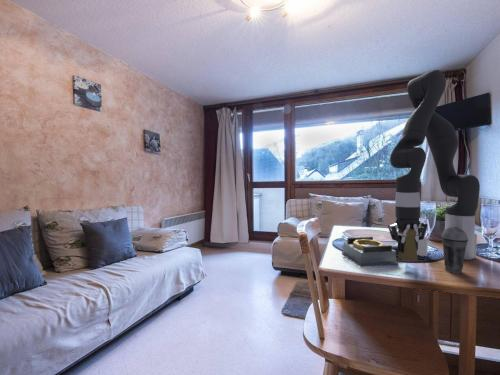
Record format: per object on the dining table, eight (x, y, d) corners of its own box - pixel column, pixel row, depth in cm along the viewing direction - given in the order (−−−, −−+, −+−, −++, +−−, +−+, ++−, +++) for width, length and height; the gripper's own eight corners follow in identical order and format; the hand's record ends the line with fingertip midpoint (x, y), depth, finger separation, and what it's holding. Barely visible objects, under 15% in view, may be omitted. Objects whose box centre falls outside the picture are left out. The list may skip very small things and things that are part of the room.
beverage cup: (472, 273, 84) (474, 215, 83) (457, 276, 82) (459, 217, 81) (449, 265, 91) (451, 212, 90) (435, 268, 89) (436, 213, 88)
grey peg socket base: (374, 251, 109) (374, 235, 109) (397, 264, 94) (398, 246, 94) (341, 253, 108) (341, 237, 107) (360, 266, 93) (360, 248, 92)
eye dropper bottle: (417, 252, 107) (418, 224, 106) (429, 256, 101) (430, 227, 101) (409, 252, 106) (409, 225, 106) (419, 257, 101) (420, 228, 100)
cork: (421, 261, 85) (421, 229, 85) (402, 260, 87) (402, 230, 86) (413, 255, 91) (413, 225, 91) (395, 254, 93) (395, 225, 92)
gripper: (418, 202, 92) (418, 247, 93) (382, 204, 91) (382, 250, 92) (435, 204, 85) (434, 253, 86) (396, 207, 83) (396, 257, 84)
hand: (407, 251), depth 89 cm, fingers closed on cork, 4 cm apart
